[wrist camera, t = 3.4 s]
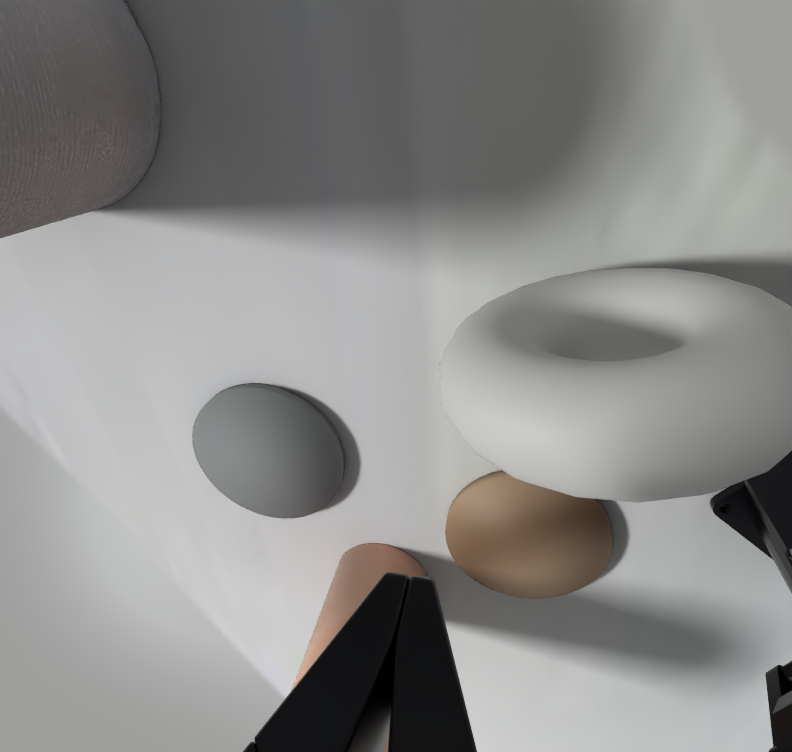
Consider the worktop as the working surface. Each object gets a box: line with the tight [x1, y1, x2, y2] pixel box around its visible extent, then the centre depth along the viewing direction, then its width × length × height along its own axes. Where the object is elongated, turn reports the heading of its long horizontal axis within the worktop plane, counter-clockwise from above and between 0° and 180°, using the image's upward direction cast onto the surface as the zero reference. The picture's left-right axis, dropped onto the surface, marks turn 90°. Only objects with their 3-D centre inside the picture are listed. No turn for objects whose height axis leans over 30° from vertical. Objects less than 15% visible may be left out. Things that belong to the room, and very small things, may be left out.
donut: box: [440, 268, 792, 502], centre depth 15 cm, size 10×4×10 cm, turn 100°
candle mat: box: [192, 384, 345, 518], centre depth 26 cm, size 8×8×1 cm
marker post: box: [291, 543, 427, 752], centre depth 23 cm, size 5×5×13 cm
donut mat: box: [445, 470, 613, 598], centre depth 25 cm, size 8×8×1 cm
